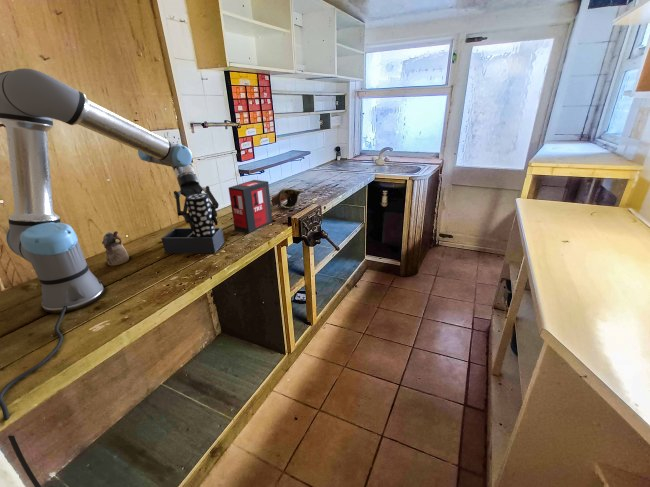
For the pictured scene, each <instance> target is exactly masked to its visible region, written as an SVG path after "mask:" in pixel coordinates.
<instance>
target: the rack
mask: <svg viewBox="0 0 650 487" xmlns="http://www.w3.org/2000/svg"><path fill="white" fill-rule="evenodd" d="M160 239H161V242H162V247H163V250H164V254H216V253H217V252H218V251H219V249H220V248H221V247H222V246H223V245H224V244H225V237H224V232H223V228H222V227H215V234H214V235H213V236H212V237H194V234H193V231H192V230H191V227H184V228H183V227H175V228H173V229H171V230H170V231H168V232H167V233H166V234H165V235H163V236H162V237H161V238H160Z"/></svg>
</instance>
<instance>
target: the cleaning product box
mask: <svg viewBox="0 0 650 487" xmlns="http://www.w3.org/2000/svg"><path fill="white" fill-rule="evenodd" d="M228 193H229V200H230V207H231V213H232V220H233V226H234V230H236V231H239V232H244V233H247V234H250V233H252V232H255V231H256V230H258V229H261V228H262V227H264V226H266V225H268V224H270V223H273V215H272V214H273V213H272V202H271V196H270V195H271V194H270V183H269V181H267V180H259V179H252V180H249V181H246V182H245V181H244V182H243V183H239V184H236V185H233V186H229V187H228Z"/></svg>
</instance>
